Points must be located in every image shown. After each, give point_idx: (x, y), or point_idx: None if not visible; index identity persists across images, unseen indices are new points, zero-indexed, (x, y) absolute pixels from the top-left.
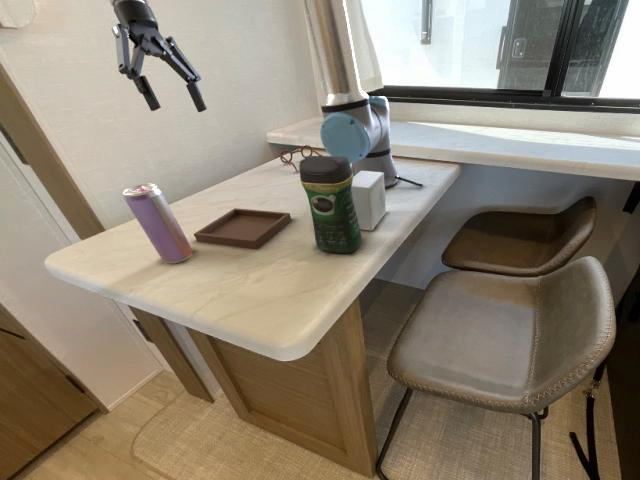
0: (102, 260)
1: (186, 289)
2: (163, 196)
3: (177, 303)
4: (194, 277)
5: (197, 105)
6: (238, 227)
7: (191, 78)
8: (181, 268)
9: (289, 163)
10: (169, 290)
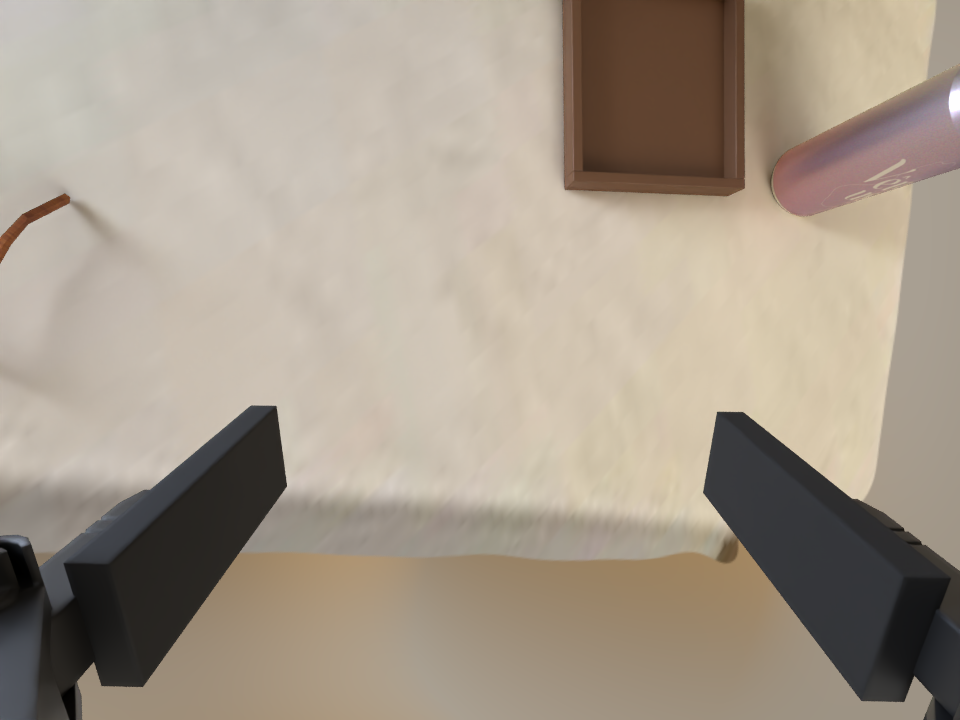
0: (842, 370)
1: (886, 66)
2: (945, 72)
3: (921, 51)
4: (851, 80)
5: (261, 491)
6: (649, 116)
7: (40, 618)
8: None
9: (3, 256)
10: None
